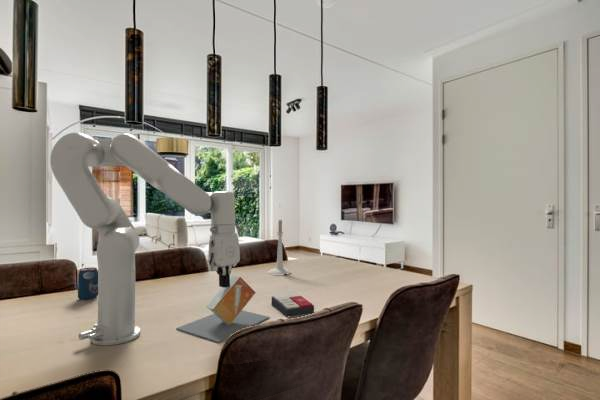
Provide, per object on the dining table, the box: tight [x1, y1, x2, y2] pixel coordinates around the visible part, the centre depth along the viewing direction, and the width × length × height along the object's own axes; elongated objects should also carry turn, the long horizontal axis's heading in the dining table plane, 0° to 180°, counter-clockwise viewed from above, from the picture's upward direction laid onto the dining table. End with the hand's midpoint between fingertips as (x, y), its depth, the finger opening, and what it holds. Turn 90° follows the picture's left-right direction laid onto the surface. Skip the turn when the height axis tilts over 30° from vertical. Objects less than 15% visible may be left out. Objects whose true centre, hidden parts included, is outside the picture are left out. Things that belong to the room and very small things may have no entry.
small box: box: [206, 275, 256, 325], centre depth 109 cm, size 8×6×13 cm
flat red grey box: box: [270, 292, 315, 318], centre depth 125 cm, size 11×4×15 cm
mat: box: [175, 309, 270, 344], centre depth 109 cm, size 24×18×1 cm
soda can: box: [77, 267, 98, 302], centre depth 134 cm, size 7×7×12 cm
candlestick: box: [267, 219, 292, 275], centre depth 187 cm, size 13×13×30 cm
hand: (224, 286), depth 108 cm, fingers closed
